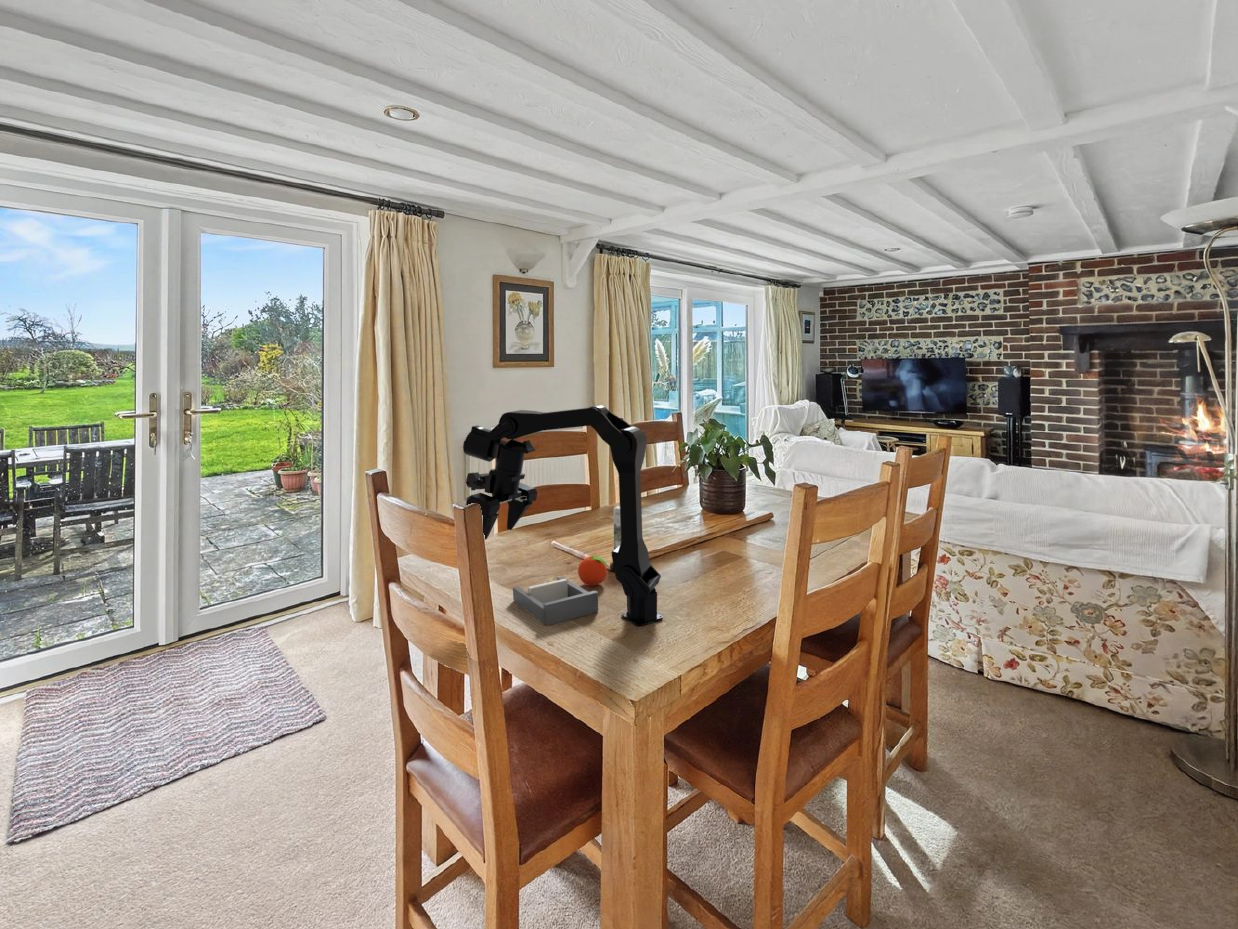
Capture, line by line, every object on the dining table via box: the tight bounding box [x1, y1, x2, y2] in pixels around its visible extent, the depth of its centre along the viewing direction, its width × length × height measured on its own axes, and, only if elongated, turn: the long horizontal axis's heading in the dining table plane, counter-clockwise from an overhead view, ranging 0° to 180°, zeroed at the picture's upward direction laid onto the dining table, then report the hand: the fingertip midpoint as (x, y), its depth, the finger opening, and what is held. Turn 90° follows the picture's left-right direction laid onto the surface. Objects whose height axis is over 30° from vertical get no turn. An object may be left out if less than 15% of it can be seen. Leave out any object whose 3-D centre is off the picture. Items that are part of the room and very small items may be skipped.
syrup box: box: [613, 504, 621, 550], centre depth 168 cm, size 6×6×14 cm
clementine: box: [577, 555, 610, 587], centre depth 149 cm, size 8×7×7 cm
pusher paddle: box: [527, 578, 568, 603], centre depth 139 cm, size 1×9×4 cm, turn 124°
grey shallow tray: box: [512, 576, 599, 627], centre depth 137 cm, size 16×12×4 cm
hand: (497, 534), depth 139 cm, fingers open, 9 cm apart
